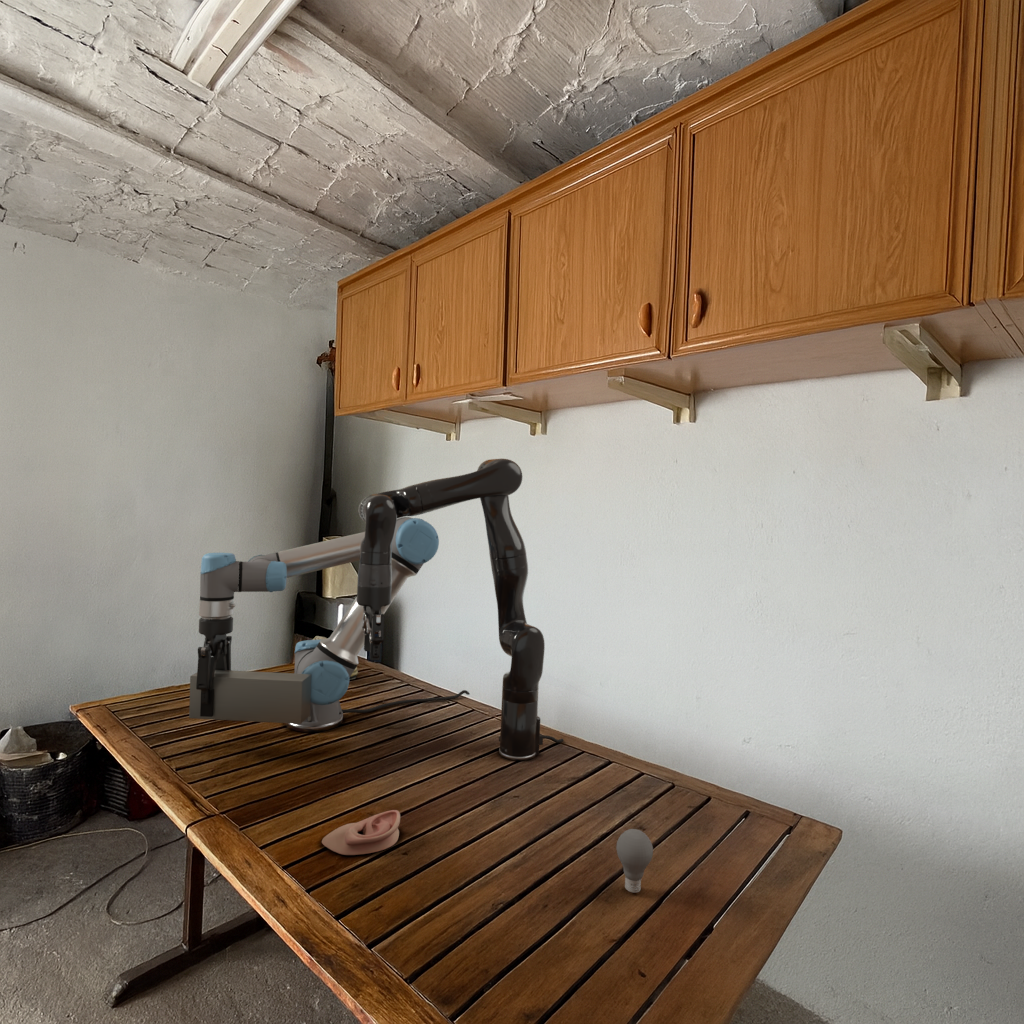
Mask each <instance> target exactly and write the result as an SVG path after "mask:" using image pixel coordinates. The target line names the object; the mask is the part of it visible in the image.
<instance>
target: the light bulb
mask: <svg viewBox="0 0 1024 1024" xmlns="http://www.w3.org/2000/svg"><path fill="white" fill-rule="evenodd" d="M615 849H616V854H617V857H618V859H619V861H620V863H621V865H622V867H623V873H624V874H623V875H624V876H625V878H624V888H625V890H627V891H628V892H630V893H634V894H635V893H639V892H640V891H641V889H642V887H641V886H642V879H643V877H644V875H645V871H646V868H647V867H648V866H649V864H650V863H651V861H652V859H653V855H654V847H653V843H652V841H651V838H649V836H648V835H647V834H646V833H645V832H643V831H642V830H641V829H636V828H629V829H627V830H625V831H623V832H622V833H621V834H620V835H619V837H618V839H617V841H616V847H615Z"/></svg>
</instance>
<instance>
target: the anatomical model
mask: <svg viewBox="0 0 1024 1024" xmlns="http://www.w3.org/2000/svg"><path fill="white" fill-rule="evenodd" d="M400 823H401V813H400V811H399V810H397V809H392V810H391V809H390V810H387V811H383V812H380V813H377V814H373V815H371V816H369V817H367V818H365V819H362V820H360V821H356V822H349V823H346V824H344V825H341V826H339V827H337V828H335V829H334V830H332V831H331V832H329V833H328V834H326V835H325V836H324V837H323V838H322V840H321V844H322V845H323V846H324V847H325V848H327V849H328V850H330V851H332V852H334V853H337V854H339V855H342V856H356V855H357V856H358V855H366V854H371V853H378V852H382V851H383V850H386V849H388V848H390V847H392V846H394V845H395V844H396V843H397V842H398V840H399V836H400V830H399V827H400Z"/></svg>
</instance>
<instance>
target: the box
mask: <svg viewBox="0 0 1024 1024" xmlns="http://www.w3.org/2000/svg"><path fill="white" fill-rule="evenodd" d="M196 683H197V672H195V673H193V674H191V675H190V676H189V706H188V707H189V712H188V713H189V714H188V719H195V720H217V721H234V722H235V721H236V722H253V723H255V722H256V723H271V724H272V723H274V724H286V723H292V724H301V723H302V722H304V721H305V720H306V719H307V718H308V717H309V716H310V702H311V674H295V672H292V673H290V672H271V671H253V670H252V671H251V670H232V669H231V670H215V673H214V679H213V685H212V689H214V703H213V716H212V717H201V716H200V706H201V690H197V689H196Z"/></svg>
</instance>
